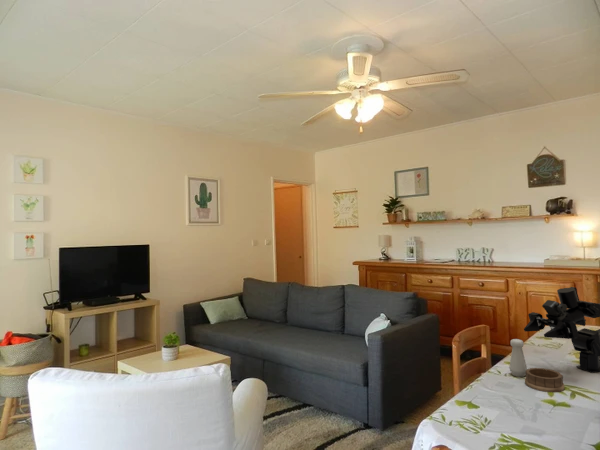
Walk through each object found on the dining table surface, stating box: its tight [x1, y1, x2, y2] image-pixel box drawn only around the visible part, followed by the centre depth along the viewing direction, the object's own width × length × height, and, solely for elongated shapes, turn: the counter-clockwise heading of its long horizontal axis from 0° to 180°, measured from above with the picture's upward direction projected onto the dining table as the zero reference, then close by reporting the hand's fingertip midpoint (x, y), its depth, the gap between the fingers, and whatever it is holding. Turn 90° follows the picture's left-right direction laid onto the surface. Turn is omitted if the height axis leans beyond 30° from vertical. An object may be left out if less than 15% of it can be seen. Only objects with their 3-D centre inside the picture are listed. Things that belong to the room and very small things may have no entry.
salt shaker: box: [508, 338, 528, 378], centre depth 147 cm, size 6×6×13 cm
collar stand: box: [524, 367, 566, 393], centre depth 136 cm, size 12×12×4 cm
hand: (534, 332), depth 145 cm, fingers open, 9 cm apart
